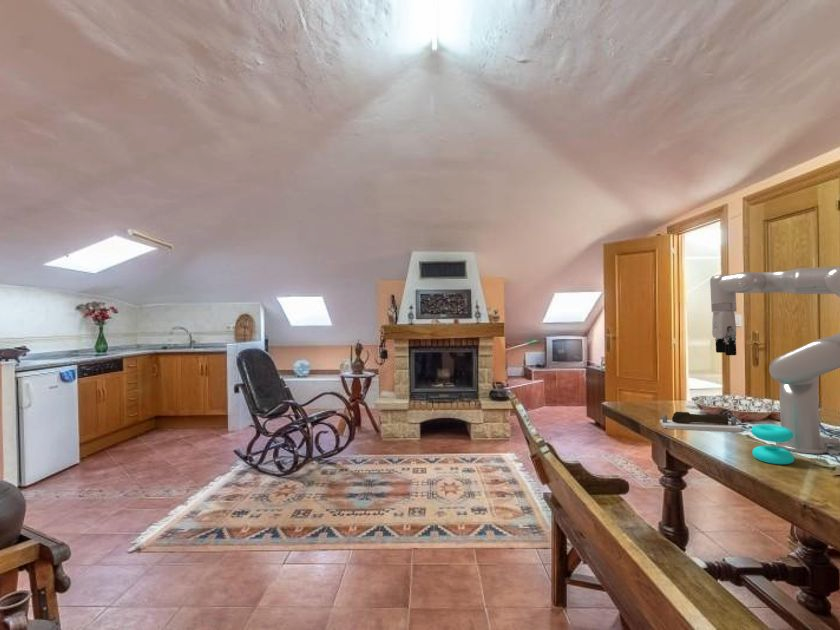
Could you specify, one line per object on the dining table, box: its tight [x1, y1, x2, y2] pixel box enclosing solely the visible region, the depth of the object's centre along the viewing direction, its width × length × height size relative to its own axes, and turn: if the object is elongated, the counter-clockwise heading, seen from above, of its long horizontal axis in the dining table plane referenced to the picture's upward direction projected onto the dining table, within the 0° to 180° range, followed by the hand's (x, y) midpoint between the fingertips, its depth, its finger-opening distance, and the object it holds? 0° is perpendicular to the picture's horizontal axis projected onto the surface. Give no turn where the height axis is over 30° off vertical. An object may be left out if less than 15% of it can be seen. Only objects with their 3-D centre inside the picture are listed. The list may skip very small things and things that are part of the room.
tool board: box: [659, 414, 743, 433], centre depth 164 cm, size 26×9×4 cm, turn 71°
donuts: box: [750, 424, 795, 465], centre depth 128 cm, size 10×10×10 cm
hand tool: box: [671, 411, 729, 425], centre depth 165 cm, size 19×4×5 cm, turn 71°
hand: (725, 353), depth 153 cm, fingers open, 9 cm apart
